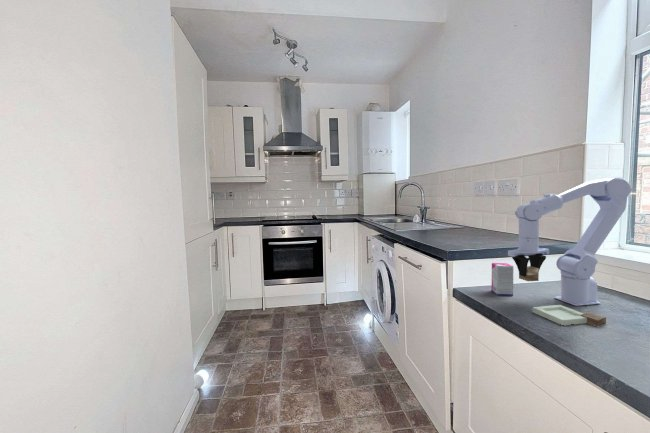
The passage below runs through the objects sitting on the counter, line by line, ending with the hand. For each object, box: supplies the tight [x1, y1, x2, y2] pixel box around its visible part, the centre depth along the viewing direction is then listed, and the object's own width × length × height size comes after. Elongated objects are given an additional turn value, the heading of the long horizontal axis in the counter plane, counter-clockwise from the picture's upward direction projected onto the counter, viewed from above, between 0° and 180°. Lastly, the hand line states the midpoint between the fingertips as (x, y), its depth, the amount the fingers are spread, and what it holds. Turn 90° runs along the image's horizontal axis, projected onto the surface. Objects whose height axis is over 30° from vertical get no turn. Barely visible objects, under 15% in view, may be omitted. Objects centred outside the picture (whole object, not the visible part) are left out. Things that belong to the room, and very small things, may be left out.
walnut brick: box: [581, 311, 607, 327], centre depth 80 cm, size 4×4×2 cm
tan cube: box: [518, 265, 540, 282], centre depth 98 cm, size 4×4×4 cm
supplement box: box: [491, 262, 514, 297], centre depth 107 cm, size 6×6×12 cm
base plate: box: [532, 304, 588, 326], centre depth 85 cm, size 10×10×2 cm
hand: (528, 275), depth 98 cm, fingers closed on tan cube, 4 cm apart
